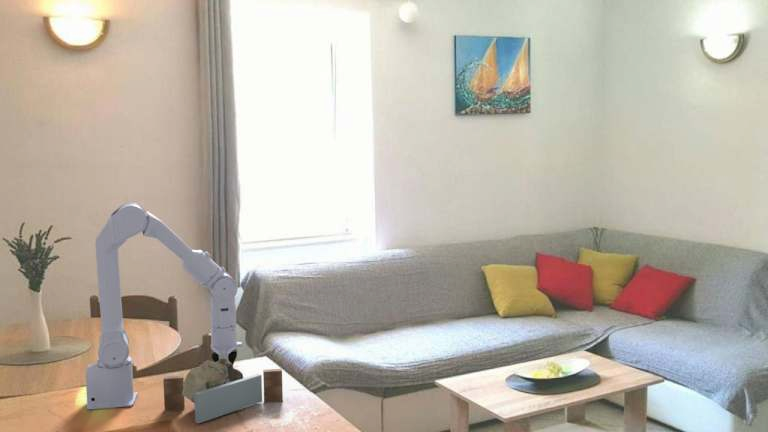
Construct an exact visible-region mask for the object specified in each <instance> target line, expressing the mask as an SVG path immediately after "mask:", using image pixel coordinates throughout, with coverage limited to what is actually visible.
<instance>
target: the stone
mask: <svg viewBox="0 0 768 432" xmlns="http://www.w3.org/2000/svg"><path fill="white" fill-rule="evenodd" d="M243 378H244V374H243V372H242V371H240V370H239V369H237V368H234V364H232V363H230V362H229V360H227V359H225V358H222V359H220V360H218V361H217V362H214V361H213V360H210V359H207V360H206V361H204V362H203V363H202V364H200V365H199V366H197V367H193V368H191V369H190V370H189V371H188V372H187V374H186V376H185V377H184V388H183V392H182V395H183V396H184V398H186V399H188V400H190V401H191V402H192V403H193V404H195V401H194V393H197V392H200V391H204V390H207V389H210V388H214V387H217V386H220V385H223V384H227V383H230V382H233V381H236V380H240V379H243Z"/></svg>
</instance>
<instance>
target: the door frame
mask: <svg viewBox="0 0 768 432" xmlns="http://www.w3.org/2000/svg"><path fill="white" fill-rule="evenodd" d="M262 372H263V374H262V375H263V403H264V404H268V403H269V404H270V403H280V402H281V403H282V402H283V401H284V398H283V395H284V394H283V393H284V392H283V368H270V369H263V371H262ZM162 379H163V382H162V383H163V400H164V401H163V402H164V403H163V404H164V412H166V411H167V412H168V411H180V410H181V411H182V410H185V407H186V405H185V396H183V395H182V392H183V388H184V380H185V377H184V375H171V376H169V375H167V376H164V377H163V378H162Z"/></svg>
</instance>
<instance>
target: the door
mask: <svg viewBox="0 0 768 432" xmlns="http://www.w3.org/2000/svg"><path fill="white" fill-rule="evenodd" d="M262 383H263V382H262V374H260V373H257V374H253V375H249V376H247V377H243V379H240V380H236V381H233V382H230V383H227V384H223V385H220V386H217V387H214V388H210V389H207V390H204V391H200V392H197V393H194V401H195V403H194V422H195V423H197V424H200V423H204V422H207V421H210V420H213V419H216V418H219V417H222V416H224V415H227V414H230V413H233V412H236V411H238V410H239V411H240V410H242V409H245V408H247V407H250V406H253V405H256V404H259V403H262V402H263V384H262Z"/></svg>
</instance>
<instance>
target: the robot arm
mask: <svg viewBox="0 0 768 432" xmlns="http://www.w3.org/2000/svg"><path fill="white" fill-rule="evenodd" d="M98 233H99V234H98V235H97V236H96V238H95V244H94V245H95V258H96V270H97V273H96V275H97V286H98V297H99V298H98V302H99V311H100V312H99V313H100V326H101V327H100V329H101V330H100V331H101V333H100V337H99V339H98V349H97V358H98V359H97V360H96V363H92V364H91V363H90V364H88V365H87V368H86V372H85V388H86V389H85V391H86V404H87V406H86V410H99V409H112V408H113V409H114V408H124V407H125V408H126V407H127V408H128V407H133V406H134V403H135V402H136V399H137V396H138V392H137V391H134V378H133V376H134V375H133V359H132V357H131V356H130V347H129V343H130V338H129V335H128V334H127V332H126V330H125V328H124V319H123V318H124V317H123V305H122V289H121V276H120V275H121V273H120V262H119V261H120V260H119V259H120V258H119V248H120V247H122V246H123V245H124V244H125V243H126V242H127V240H129V239H130V238H133V237H135V236H137V235H139V234H141V233H142V235H143V237H147V238H148V237H149V238H154V239H156V240H157V241H159V242H160V243H161V244H163V245H164V246H165V247H166V248H167V249H168V250H170V251H171V252H172V253H174V254H175V255H176V256H177V257H178V258H179V259H180V260H182V269H183V270H184V271H185V272H186V273H187V274H188V275H189V276H191V277H192V278H193V279H194V280H195V281H196V282H198V284H200V285H201V286H202V287H203V288H207V290H208V292H209V293H211V295H210V307H209V308H210V337H211V338H210V342H211V343H210V349H211V350H212V354H211V358H212V362H217V361H218V360H220V359H222V358H225V359H227V360H229V362H230V363H232V364H233V365H234V363H235V361H236V359H237V357H238V349H237V348H241V347H243V342H242V341H238V338H237V337H238V336H237V335H238V333H237V308H236V307H237V305H236V295H237V293H238V287H237V283H236V281H235V280H234V278H233V277H232V276H231V275H230V273H229V272H227V270H226V268H225V267H224V266H220V265H218V264H217V263H216V262H215V261H214V260H213V259H212V258H211V257H212V255H211V254H210V253H209V252H208V251H203V250H202V249H192V248H191V247H190V246H189V245H188V244H187V243H185V242H184V240H182V238H180V237H179V236H178V235H177V234H176V233H175V232H174V231H173V230H172V229H171V228H170V227H169V226H168V225H166V223H164V221H163V220H161V219H159V218H158V217H157V216H155V215H154V214H153V213H151V212H150V211H148V210H146V211H145V209H144V208H143V206H141V205H140V204H139V203H136V202H130V201H129V202H126V203H124V204H121V205H120V206H119V207H118V208H117V209H115V210H114V211H113V212H112V213H111V214H110V216H109V218H108V219H107V220H106V223H105V224H104V226H103V227H102V228H101V230H100V232H98Z"/></svg>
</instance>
